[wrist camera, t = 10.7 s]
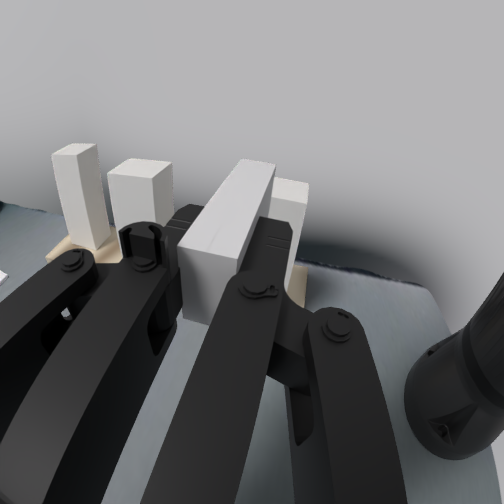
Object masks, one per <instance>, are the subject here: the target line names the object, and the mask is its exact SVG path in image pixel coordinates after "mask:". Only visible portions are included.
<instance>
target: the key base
mask: <svg viewBox="0 0 504 504" xmlns="http://www.w3.org/2000/svg"><path fill="white" fill-rule="evenodd" d="M110 231H111V235H110V236H109V237H108V238H107V239H106V240H105V241H104V243H103V244H102V245H101V246H100V247H99V248H98V249H97V250H93V249H90V248H86V247H82V246H79V245H75V244H72V242H71V239H70V235H69V234H68V235H67V236H66V237H65V238H64V239H63V240H62V241H61V242H60V243H59V244H58V245H57V246H56V247H55V248H54V249H53V250H52V251H51V252H50V253H49V254H48V255H47V256H46V260H47V262H48V263H50V262H51V261H52V260H54V259H55V258H56V257H58V256H59V255H61V254H62V253H64V252H66V251H68V250H71V249H75V248H84V249H87V250H90V251H91V252H92V254H93V255H94V258H95V262H96V263H119V262H120V261H121V259H122V255H121V250H120V246H119V241H118V236H117V231H116V227H111V226H110ZM307 274H308V267H303V266H298V265H293V268H292V272H291V276H290V280H289V284H288V288H287V292H286V293H287V294H288V296H289V297H290V299H291V300H293V301H294V302H295V303H296V304H297V305H299V306H301V307H302V308H304V303H305V294H306V284H307Z"/></svg>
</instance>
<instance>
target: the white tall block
mask: <svg viewBox="0 0 504 504" xmlns="http://www.w3.org/2000/svg"><path fill="white" fill-rule="evenodd" d="M107 177H108V184H109V191H110V198H111V204H112V210H113V215H114V221H115V226H116V231H117V236H118V241H119V246H120V250H121V255H122V258H123V254H122V249H121V244H120V239H119V233H118V231H119V230H120V229H122V228H123V227H124V226H126V225H129V224H132V223H135V222H142V221H148V222H155V223H157V224H160V225H162V226H163V227H164V226H166V224H167V222H168V221H169V220H170V219H171V218H172V216H173V215H174V204H173V203H174V202H173V180H172V162H165V161H155V160H143V159H133V158H129V159H128V160H126V161H125V162H123V163H122V164H120V165H119V166H117V167H116V168H114V169H113V170H111V171H110V172H108V173H107Z"/></svg>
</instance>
